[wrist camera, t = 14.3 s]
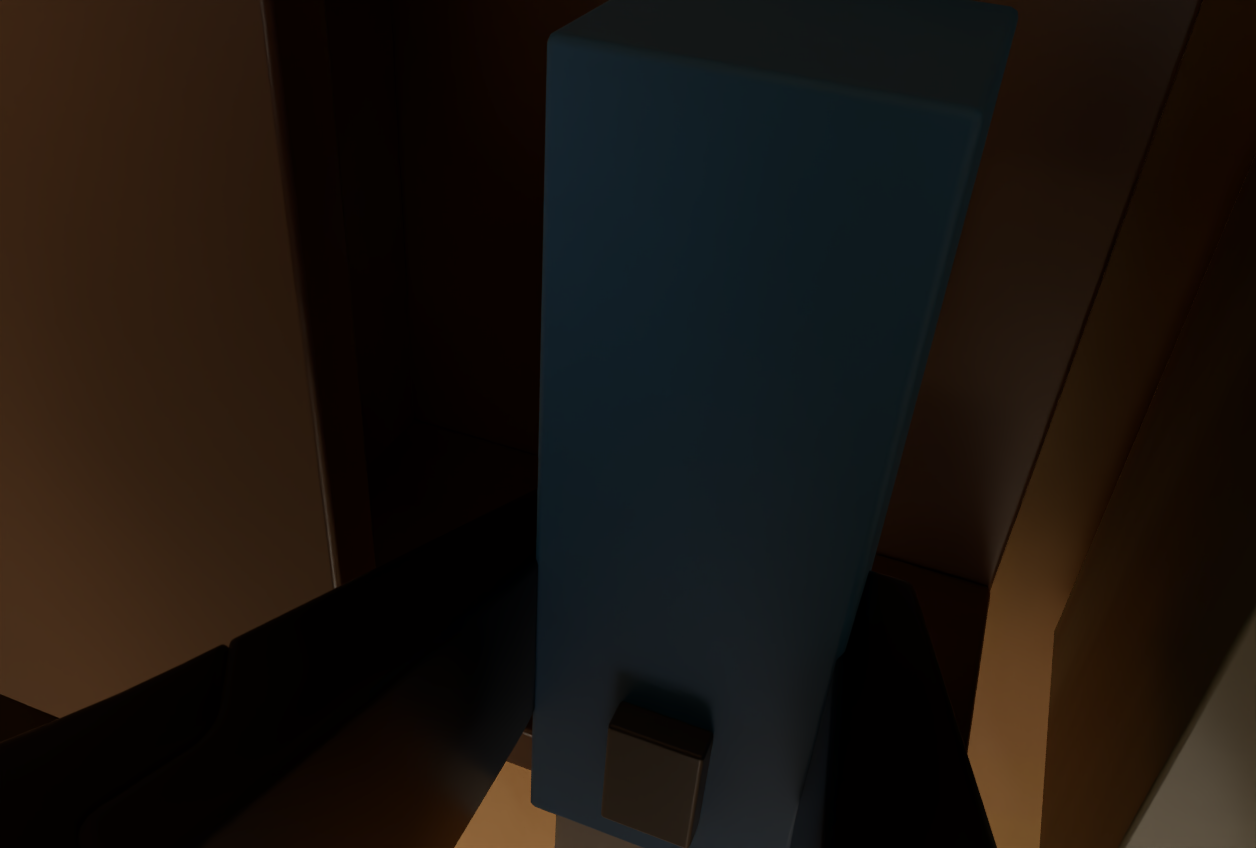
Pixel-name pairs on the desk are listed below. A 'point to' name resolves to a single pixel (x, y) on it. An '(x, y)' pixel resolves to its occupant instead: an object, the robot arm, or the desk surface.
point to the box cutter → (730, 381)
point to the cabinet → (169, 337)
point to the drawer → (947, 400)
